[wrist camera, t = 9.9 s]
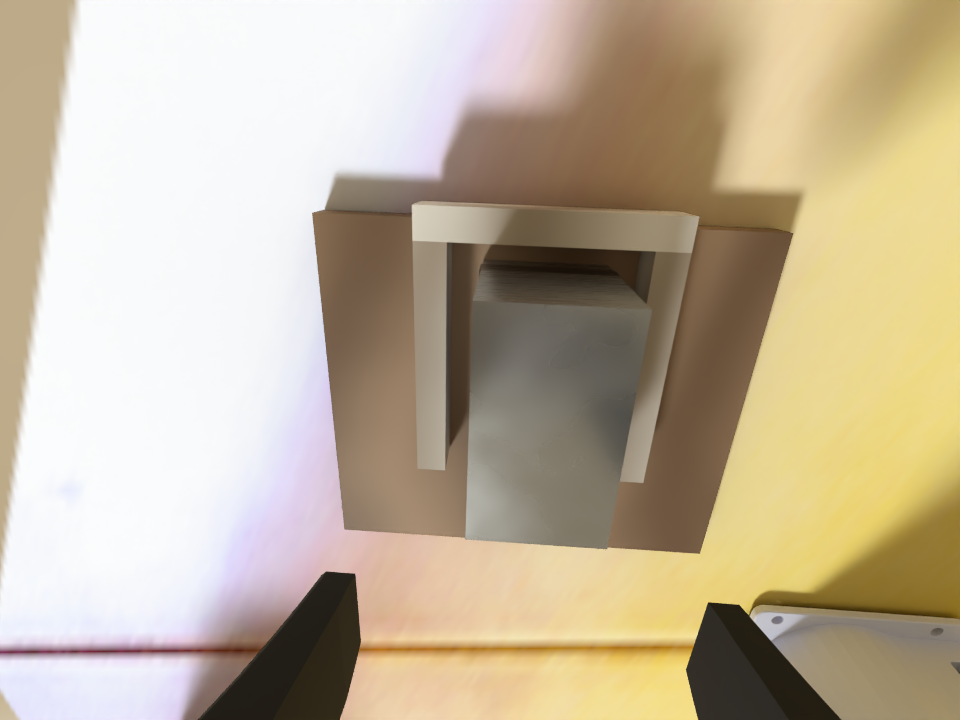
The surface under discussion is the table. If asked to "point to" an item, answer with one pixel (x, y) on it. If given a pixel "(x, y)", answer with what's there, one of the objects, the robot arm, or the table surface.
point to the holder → (448, 336)
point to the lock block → (550, 400)
